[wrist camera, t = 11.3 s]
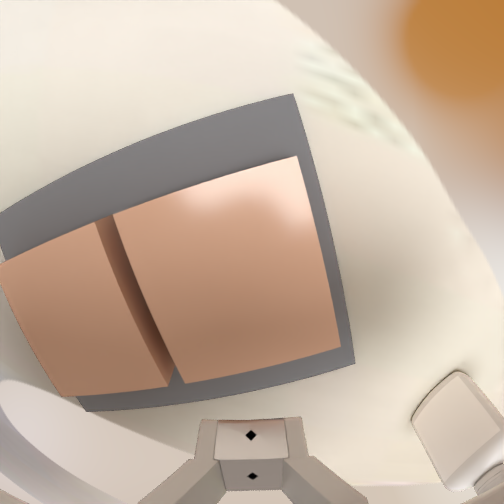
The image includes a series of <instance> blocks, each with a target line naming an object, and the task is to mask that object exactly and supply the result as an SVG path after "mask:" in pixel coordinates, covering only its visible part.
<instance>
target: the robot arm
mask: <svg viewBox="0 0 504 504" xmlns="http://www.w3.org/2000/svg"><path fill="white" fill-rule="evenodd" d="M248 490H282V491H283V492H284V494H285V495H286V496H287V497H288V498H289V499H290V500H291V502H292V503H293V504H368V500H367V498H366V497H365V496H363V495H362V494H361V493H359V492H358V491H357V490H355V489H354V488H353V487H351V486H350V485H349V484H348V483H346V482H345V481H344V480H343V479H341V478H340V477H339V476H337V475H336V474H335V473H334V472H333V471H331V470H330V469H329V468H328V467H326V466H325V465H324V464H323V463H322V462H320V461H319V460H318V459H317V458H316V457H314V456H309V455H308V449H307V444H306V438H305V433H304V428H303V422H302V418H301V417H290V418H276V419H259V420H204V419H202V421H201V423H200V428H199V433H198V439H197V445H196V451H195V457H194V459H189V460H188V461H187V462H186V463H184V464H183V465H182V466H181V467H180V468H179V469H178V470H176V471H175V472H174V473H173V474H172V475H171V476H170V477H168V478H167V479H166V480H165V481H164V482H163V483H161V484H160V485H159V486H158V487H156V488H155V489H154V490H153V491H152V492H150V493H149V494H148V495H147V496H145V497H144V498H143V499H142V500H140V501H139V502H138V504H217V503H218V502H219V501H220V499H221V498H222V497H223V496H224V494H225V493H226V491H248ZM0 504H28V503H26V502H24V501H22V500H20V499H18V498H16V497H14V496H12V495H10V494H8V493H7V492H5V491H3V490H1V489H0ZM462 504H504V481H503V482H502V483H500V484H498V485H496V486H495V487H493V488H491V489H489V490H487V491H486V492H484V493H482V494H480V495H478V496H476V497H474V498H472V499H470V500H468V501H466V502H464V503H462Z"/></svg>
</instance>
